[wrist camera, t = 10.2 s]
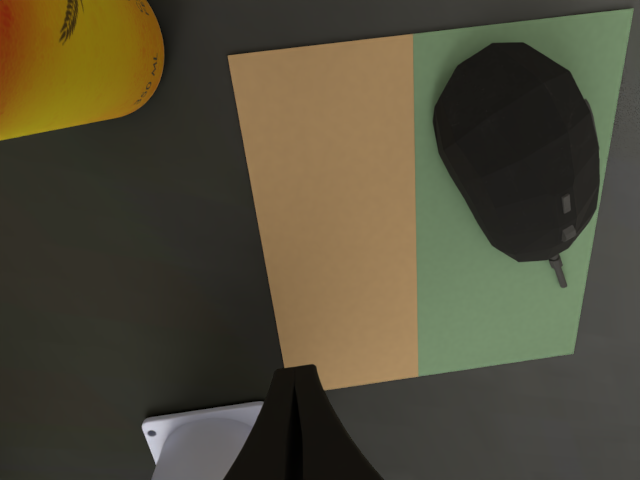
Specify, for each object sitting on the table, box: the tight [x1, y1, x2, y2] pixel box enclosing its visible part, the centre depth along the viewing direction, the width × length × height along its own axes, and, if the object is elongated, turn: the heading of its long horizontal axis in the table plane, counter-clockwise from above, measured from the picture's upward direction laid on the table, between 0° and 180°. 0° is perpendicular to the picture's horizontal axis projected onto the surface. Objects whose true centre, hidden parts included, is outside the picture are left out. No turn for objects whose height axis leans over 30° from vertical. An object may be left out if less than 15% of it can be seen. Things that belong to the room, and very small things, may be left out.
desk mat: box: [228, 8, 634, 390], centre depth 21 cm, size 20×19×1 cm
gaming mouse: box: [433, 42, 600, 288], centre depth 19 cm, size 6×15×4 cm, turn 33°
